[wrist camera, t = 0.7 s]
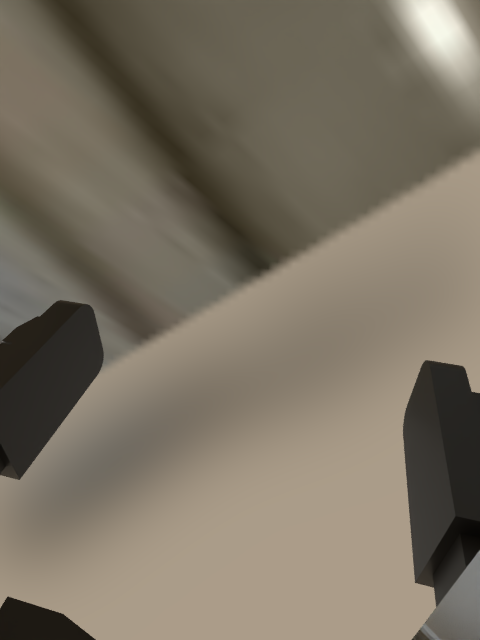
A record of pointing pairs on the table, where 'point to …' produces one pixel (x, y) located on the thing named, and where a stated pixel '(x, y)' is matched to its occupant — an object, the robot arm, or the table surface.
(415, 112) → the table surface
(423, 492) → the robot arm
